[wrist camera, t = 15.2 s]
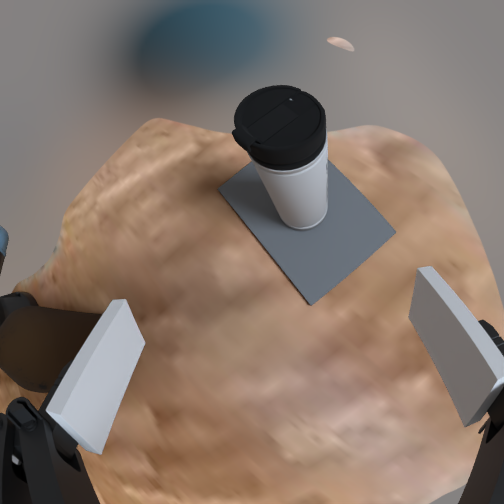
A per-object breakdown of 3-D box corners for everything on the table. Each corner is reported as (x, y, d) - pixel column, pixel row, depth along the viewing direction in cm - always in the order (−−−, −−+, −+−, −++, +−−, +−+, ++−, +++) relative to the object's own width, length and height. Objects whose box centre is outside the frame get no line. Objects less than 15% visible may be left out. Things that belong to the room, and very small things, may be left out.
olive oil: (143, 325, 39) (-12, 324, 16) (130, 387, 38) (-9, 422, 14) (95, 301, 42) (-40, 284, 18) (84, 359, 41) (-42, 367, 17)
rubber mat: (219, 190, 40) (217, 189, 40) (294, 131, 39) (294, 128, 39) (311, 305, 34) (311, 305, 34) (395, 233, 33) (396, 231, 33)
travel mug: (266, 208, 37) (210, 116, 18) (304, 176, 37) (280, 65, 18) (299, 243, 36) (269, 170, 16) (337, 209, 35) (346, 108, 16)
